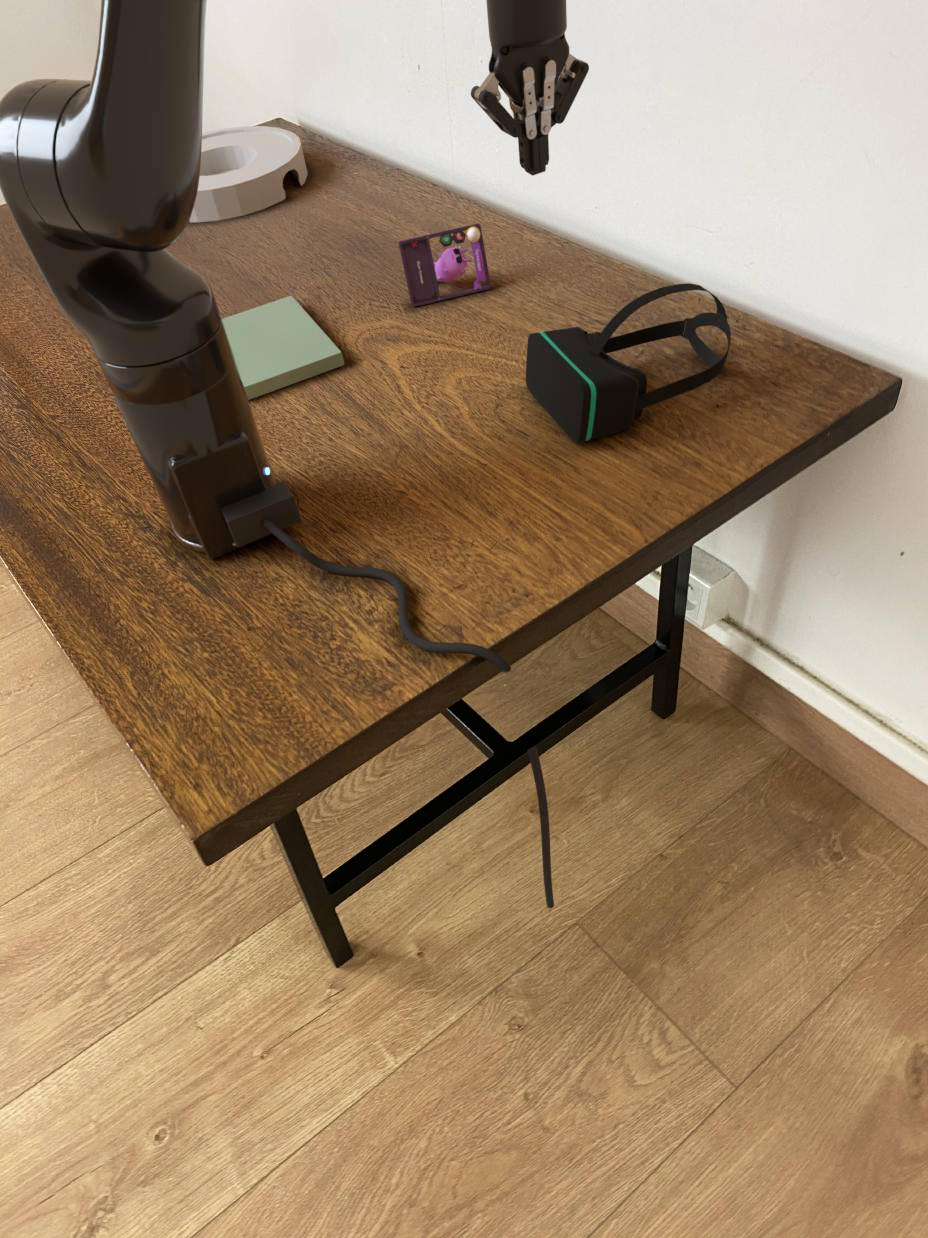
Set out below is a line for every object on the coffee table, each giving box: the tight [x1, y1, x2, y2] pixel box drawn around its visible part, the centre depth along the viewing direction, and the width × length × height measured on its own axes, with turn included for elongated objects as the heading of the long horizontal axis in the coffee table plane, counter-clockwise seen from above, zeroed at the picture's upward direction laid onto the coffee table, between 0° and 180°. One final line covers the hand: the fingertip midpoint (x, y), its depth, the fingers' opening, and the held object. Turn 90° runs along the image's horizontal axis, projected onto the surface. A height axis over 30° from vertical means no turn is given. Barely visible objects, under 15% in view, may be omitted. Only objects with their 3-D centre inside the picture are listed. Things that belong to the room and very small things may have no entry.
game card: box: [398, 223, 492, 308], centre depth 99 cm, size 7×5×9 cm
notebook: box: [222, 295, 345, 401], centre depth 95 cm, size 15×11×2 cm
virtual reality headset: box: [525, 282, 732, 444], centre depth 80 cm, size 11×17×10 cm, turn 112°
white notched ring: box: [189, 125, 309, 223], centre depth 127 cm, size 23×23×4 cm
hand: (535, 171), depth 97 cm, fingers closed
